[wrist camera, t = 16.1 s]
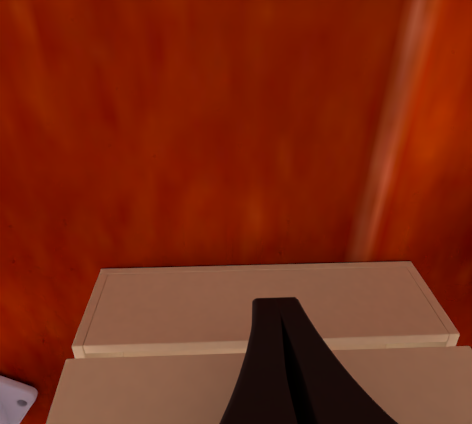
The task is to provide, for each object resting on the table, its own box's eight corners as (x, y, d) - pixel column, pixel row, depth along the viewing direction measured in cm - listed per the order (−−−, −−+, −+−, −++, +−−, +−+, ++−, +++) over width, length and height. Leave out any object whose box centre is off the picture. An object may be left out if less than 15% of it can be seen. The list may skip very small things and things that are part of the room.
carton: (100, 268, 18) (71, 346, 15) (411, 260, 19) (460, 334, 15) (131, 420, 24) (115, 506, 20) (371, 411, 24) (401, 493, 20)
